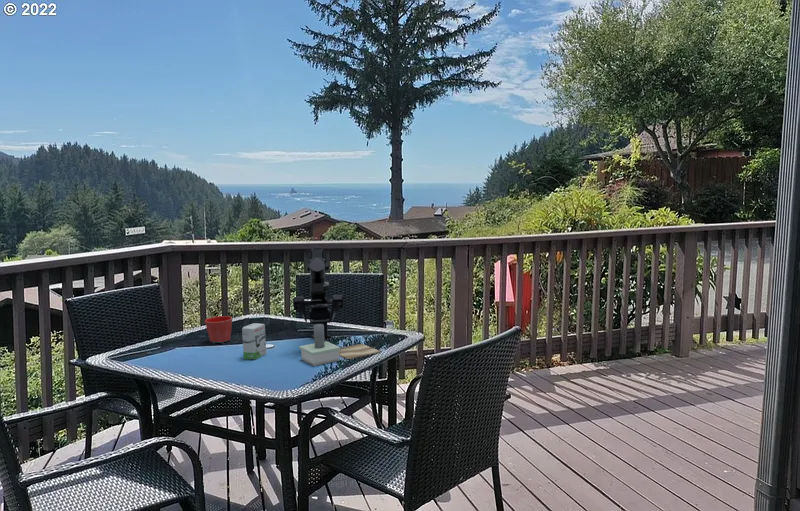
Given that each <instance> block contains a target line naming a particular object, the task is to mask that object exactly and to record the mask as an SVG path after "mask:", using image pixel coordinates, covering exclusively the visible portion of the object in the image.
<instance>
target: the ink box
mask: <svg viewBox="0 0 800 511" xmlns="http://www.w3.org/2000/svg"><path fill="white" fill-rule="evenodd" d="M241 330H242V331H241V332H242V333H241V335H242V349H243V350H242V352H243V359H244V360H251V359H253V360H254V359H255V360H257V359H259V358H261V357H263V356H265V355H267V341H266V338H267V337H266V325H265V323H257V322H256V323H255V322H254V323H250V324H248V325H245V326H243V327H242V328H241ZM253 360H252V361H253ZM255 360H254V361H255Z"/></svg>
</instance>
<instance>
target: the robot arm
mask: <svg viewBox="0 0 800 511" xmlns="http://www.w3.org/2000/svg"><path fill="white" fill-rule="evenodd" d="M310 250H311V251H310V252H309V253H307V273H309V276H310V291H309V292H310V293H309V295H310V296H309V297H310V299H305V298H304V296H294V297H293V299H292V304H293V305H292V306H293V311H296V312H297V313H300V314H301V315H302V318H303V320H304V322H305V324H306V323H308V317H307V312H306V306H310V308H309V309H308V310H309V311H308V312H309V324H310V325H312V324H313V326H312V327H314V325H315V324H324V339H327V338H331V337H332V335H330V334H328V324H330V323H332V322H333V320H334V318H335V315H336V314H337V312H338V311H341V309H343V308H344V295H343V294H332V298H327V292H329V291H330V282H329V281H326V274H327V273H326V272H328V270H330V265H329V264H328V253H327V252H326V251H325V250H324V248H322V247H312V248H310ZM329 305H331V309H330V307H329ZM310 337H311V338H312V339H314V334H311V335H310Z"/></svg>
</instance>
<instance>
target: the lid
mask: <svg viewBox="0 0 800 511" xmlns="http://www.w3.org/2000/svg"><path fill="white" fill-rule="evenodd" d="M313 335H314V338H313V339H314V340H313V341H314V343H310V344H305V345H300V346H298V349H299V350H300V351H301V350H302V351H304V352H306V353H308V354H310V355H312V356H314V355H319V354H324V353H329V352H334V351H339V350H341V348H342V347H340V346H338V345H336V344H333V343H332V342H330V341H327V340H326V341H325V338H324V324H315V325H314V326H313Z"/></svg>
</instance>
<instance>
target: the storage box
mask: <svg viewBox="0 0 800 511" xmlns="http://www.w3.org/2000/svg"><path fill="white" fill-rule="evenodd" d="M300 351H301V355H300V356H301V361H303V362H305V363H307V364H309V365H310V366H312V367H317V366H321V365H325V364H331V363H336V362H340V356H339V351H334V352H329V353H324V354H319V355H314V356H312V355H310V354H308V353H306V352H304V351H302V350H300Z"/></svg>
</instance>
